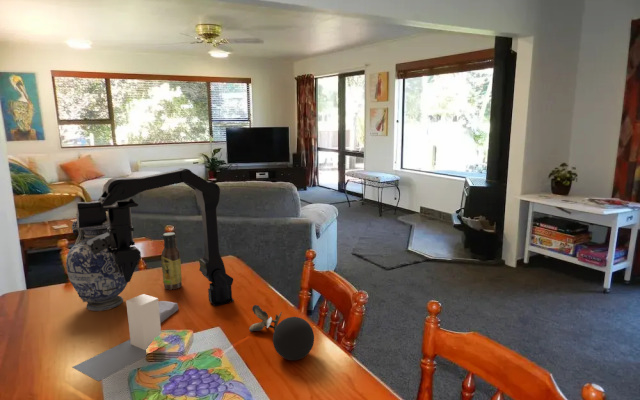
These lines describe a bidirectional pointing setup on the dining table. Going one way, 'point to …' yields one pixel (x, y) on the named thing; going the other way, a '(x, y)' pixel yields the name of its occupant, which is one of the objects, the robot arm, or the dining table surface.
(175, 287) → the sauce bottle
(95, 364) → the mat
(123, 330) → the dining table surface
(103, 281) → the decorative vase
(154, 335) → the tall block
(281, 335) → the speaker
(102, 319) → the dining table surface
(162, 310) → the stone block
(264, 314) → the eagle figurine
